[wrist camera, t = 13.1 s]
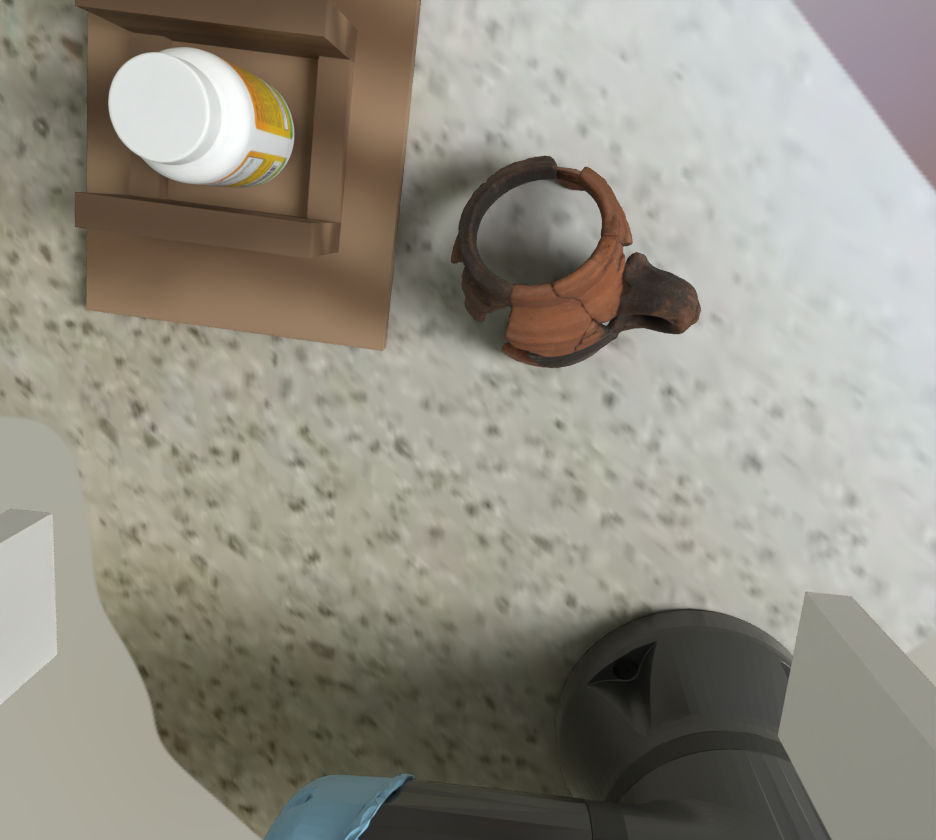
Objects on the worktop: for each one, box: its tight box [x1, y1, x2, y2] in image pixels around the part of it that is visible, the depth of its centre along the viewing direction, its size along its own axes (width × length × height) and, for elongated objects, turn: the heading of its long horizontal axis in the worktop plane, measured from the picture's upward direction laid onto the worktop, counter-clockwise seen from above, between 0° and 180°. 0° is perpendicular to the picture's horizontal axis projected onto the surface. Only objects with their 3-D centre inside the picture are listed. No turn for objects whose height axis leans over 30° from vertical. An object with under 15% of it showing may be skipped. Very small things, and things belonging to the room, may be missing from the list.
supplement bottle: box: [108, 47, 294, 188], centre depth 35 cm, size 5×5×10 cm
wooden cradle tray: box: [75, 0, 421, 351], centre depth 37 cm, size 20×16×7 cm
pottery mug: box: [451, 156, 701, 368], centre depth 39 cm, size 12×9×8 cm
